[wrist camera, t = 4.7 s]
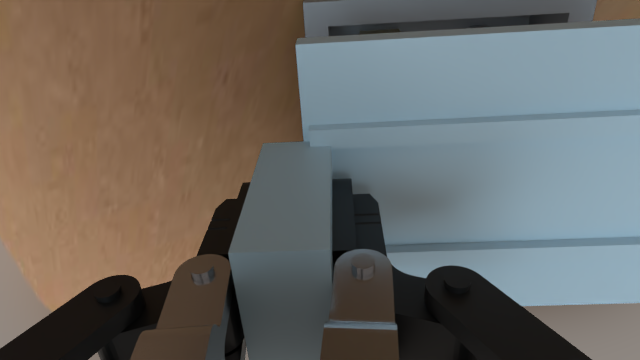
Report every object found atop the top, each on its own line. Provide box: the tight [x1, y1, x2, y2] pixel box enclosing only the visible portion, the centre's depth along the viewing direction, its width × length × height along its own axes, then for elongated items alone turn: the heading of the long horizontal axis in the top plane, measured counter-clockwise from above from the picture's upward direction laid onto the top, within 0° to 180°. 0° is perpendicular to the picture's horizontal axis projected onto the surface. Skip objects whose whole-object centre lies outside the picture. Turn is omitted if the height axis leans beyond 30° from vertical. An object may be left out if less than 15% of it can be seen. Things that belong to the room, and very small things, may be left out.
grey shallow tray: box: [303, 0, 597, 38], centre depth 23 cm, size 10×12×5 cm
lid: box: [228, 19, 640, 360], centre depth 12 cm, size 10×13×6 cm
